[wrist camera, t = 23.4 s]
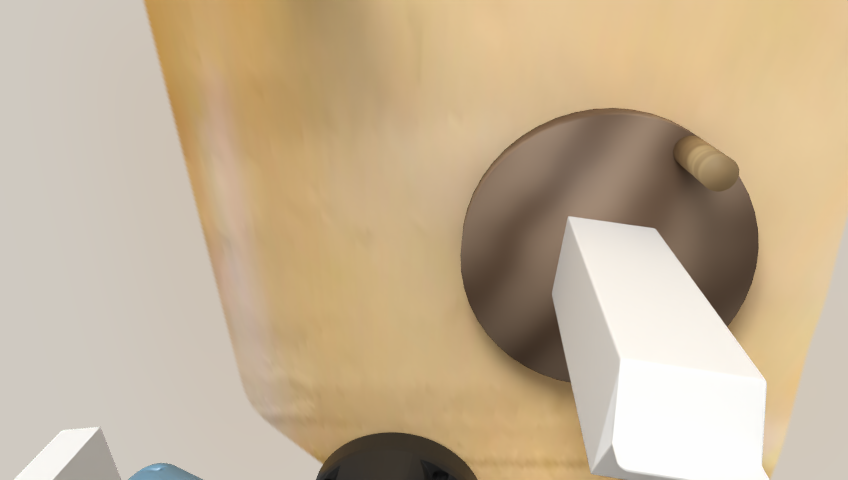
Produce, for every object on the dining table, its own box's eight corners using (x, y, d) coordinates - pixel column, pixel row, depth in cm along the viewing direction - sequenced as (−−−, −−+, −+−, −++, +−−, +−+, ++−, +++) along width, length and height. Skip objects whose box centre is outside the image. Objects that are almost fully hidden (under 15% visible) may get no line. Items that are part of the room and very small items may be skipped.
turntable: (412, 284, 50) (398, 340, 42) (563, 51, 43) (580, 63, 35) (629, 408, 52) (655, 484, 44) (805, 204, 45) (875, 249, 37)
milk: (567, 215, 44) (635, 398, 24) (657, 227, 44) (804, 425, 24) (550, 295, 47) (599, 529, 26) (636, 308, 46) (754, 554, 26)
